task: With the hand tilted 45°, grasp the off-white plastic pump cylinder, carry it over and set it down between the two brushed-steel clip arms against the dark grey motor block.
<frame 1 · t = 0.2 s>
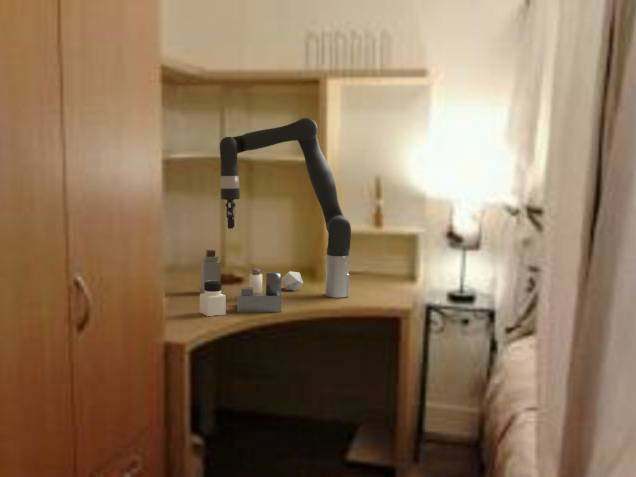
hand: (231, 227, 262), 28 cm above the table, tool pointing down, fingers open, 8 cm apart
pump: (255, 298, 261), on the table
perfume bottle: (210, 294, 269), on the table
die: (292, 290, 282), on the table
medicine bottle: (212, 314, 234), on the table
motor block: (258, 307, 246), on the table
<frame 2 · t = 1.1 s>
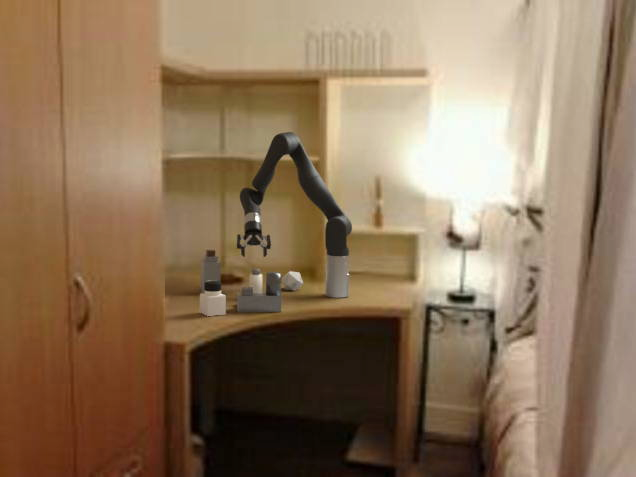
hand: (254, 255, 271), 16 cm above the table, tool tilted 45°, fingers open, 8 cm apart
nothing on the table moved.
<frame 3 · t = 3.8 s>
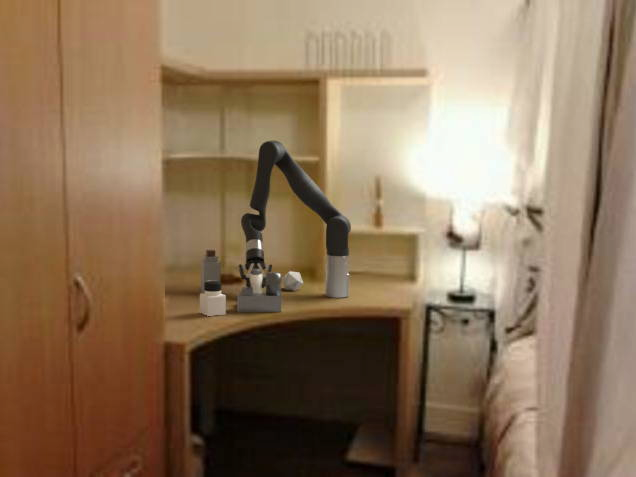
hand: (256, 286, 259), 5 cm above the table, tool tilted 45°, fingers closed on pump, 5 cm apart
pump: (255, 298, 261), on the table, touching gripper
everything else where it was.
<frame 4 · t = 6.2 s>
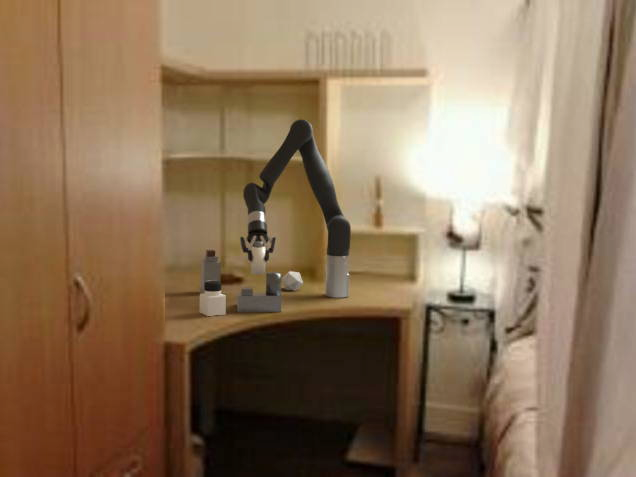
hand: (258, 260, 245), 18 cm above the table, tool tilted 45°, fingers closed on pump, 5 cm apart
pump: (258, 273, 247), point 13 cm above the table, touching gripper
everything else where it was.
when the fingers open (7 cm above the table, at t = 8.7 s): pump drops 1 cm, on the table.
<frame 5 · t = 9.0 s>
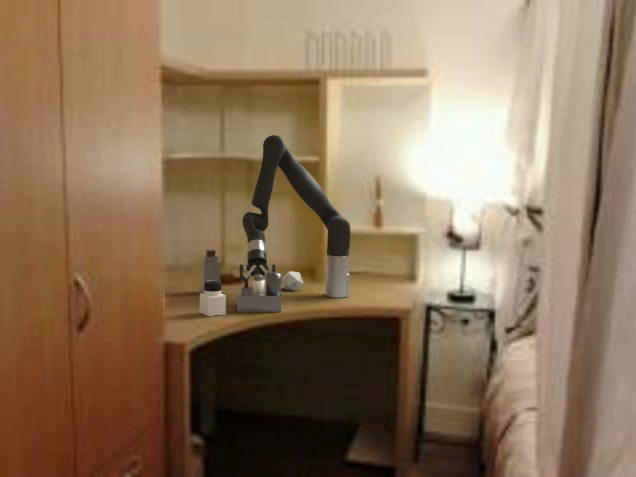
hand: (258, 288, 246), 7 cm above the table, tool tilted 45°, fingers open, 8 cm apart
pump: (257, 306, 249), on the table
everything else where it was.
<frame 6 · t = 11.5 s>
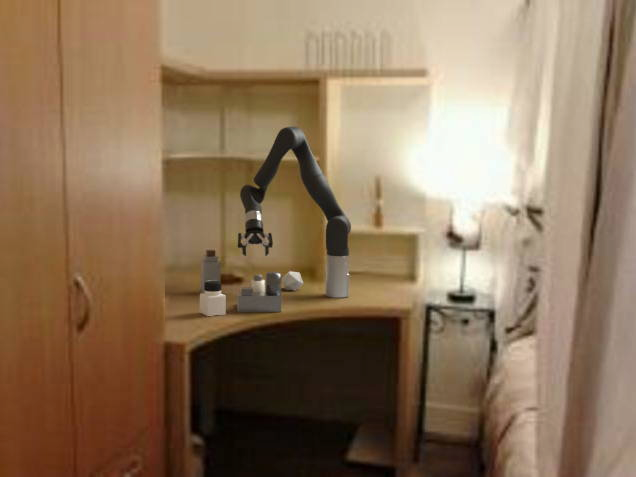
hand: (255, 254, 263), 17 cm above the table, tool tilted 45°, fingers open, 8 cm apart
nothing on the table moved.
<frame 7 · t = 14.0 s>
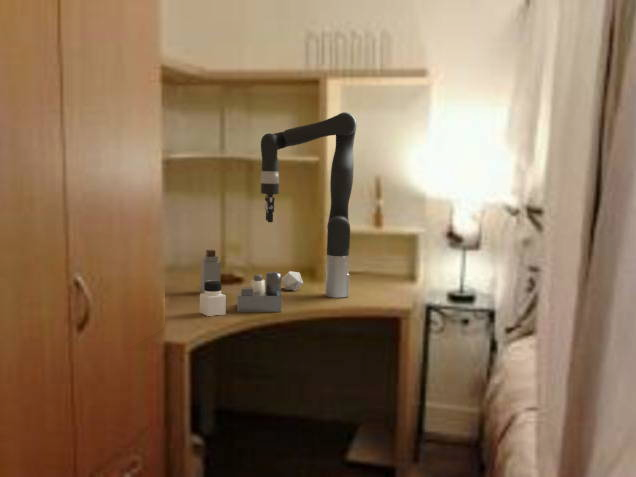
hand: (269, 221, 271), 30 cm above the table, tool pointing down, fingers open, 8 cm apart
nothing on the table moved.
at the end: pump inside the target area on the motor block (0.4 cm from its centre), point 0.0 cm above the motor block's base; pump tilted 0°; the gripper is holding nothing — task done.
